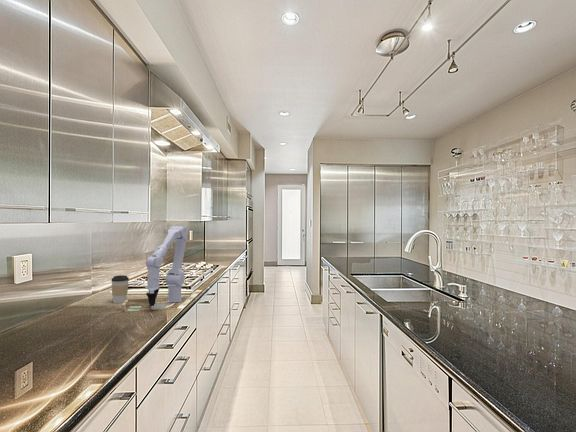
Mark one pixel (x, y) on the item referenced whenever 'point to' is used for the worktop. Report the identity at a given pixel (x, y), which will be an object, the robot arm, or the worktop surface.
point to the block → (158, 306)
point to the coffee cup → (119, 288)
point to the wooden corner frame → (134, 304)
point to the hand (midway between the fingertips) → (152, 304)
